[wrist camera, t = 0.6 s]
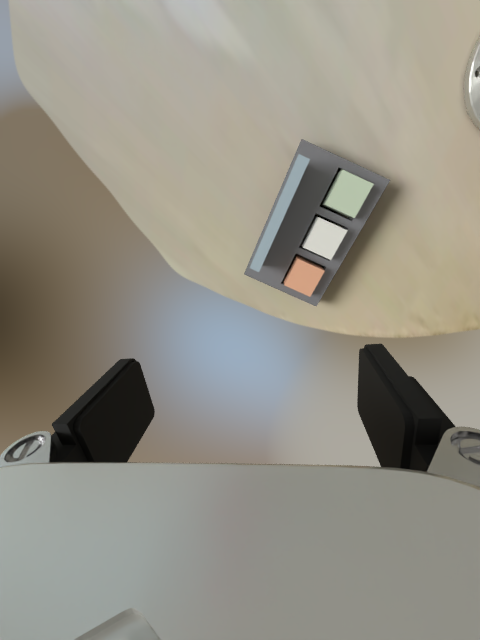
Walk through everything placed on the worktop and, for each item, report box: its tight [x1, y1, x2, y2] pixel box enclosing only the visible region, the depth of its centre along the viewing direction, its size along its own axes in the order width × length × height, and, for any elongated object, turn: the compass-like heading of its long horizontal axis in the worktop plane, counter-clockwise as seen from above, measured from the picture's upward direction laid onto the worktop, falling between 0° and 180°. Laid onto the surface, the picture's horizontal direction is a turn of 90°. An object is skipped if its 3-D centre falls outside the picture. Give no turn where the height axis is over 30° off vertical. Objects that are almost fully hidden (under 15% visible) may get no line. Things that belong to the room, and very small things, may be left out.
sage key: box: [321, 170, 374, 218], centre depth 29 cm, size 4×4×3 cm
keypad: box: [244, 139, 390, 306], centre depth 31 cm, size 16×10×7 cm, turn 157°
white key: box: [301, 217, 348, 260], centre depth 31 cm, size 4×4×3 cm
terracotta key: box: [284, 255, 325, 297], centre depth 33 cm, size 4×4×3 cm
